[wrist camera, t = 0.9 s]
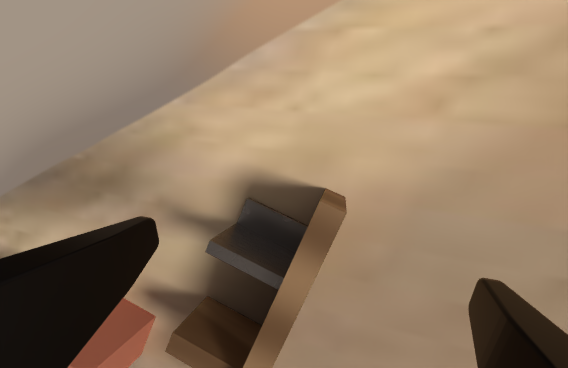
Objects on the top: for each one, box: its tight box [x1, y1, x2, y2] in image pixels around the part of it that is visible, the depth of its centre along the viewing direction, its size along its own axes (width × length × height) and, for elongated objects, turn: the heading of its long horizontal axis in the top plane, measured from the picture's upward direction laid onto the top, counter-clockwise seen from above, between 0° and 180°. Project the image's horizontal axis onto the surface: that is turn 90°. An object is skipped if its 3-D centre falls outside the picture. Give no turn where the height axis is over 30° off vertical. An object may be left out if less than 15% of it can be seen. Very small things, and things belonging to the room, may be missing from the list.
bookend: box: [205, 198, 308, 290], centre depth 20 cm, size 3×6×5 cm, turn 67°
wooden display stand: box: [165, 189, 346, 368], centre depth 20 cm, size 16×6×6 cm, turn 157°
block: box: [68, 298, 156, 368], centre depth 23 cm, size 4×10×7 cm, turn 67°
